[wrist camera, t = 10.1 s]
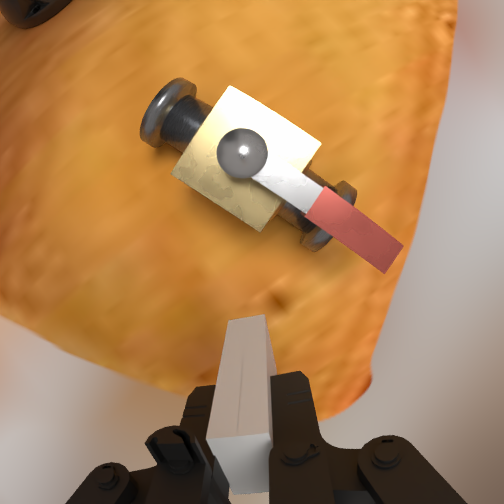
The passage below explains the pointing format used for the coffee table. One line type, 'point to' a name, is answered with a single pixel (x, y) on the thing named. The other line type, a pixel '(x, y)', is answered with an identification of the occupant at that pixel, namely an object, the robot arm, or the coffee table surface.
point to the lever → (306, 196)
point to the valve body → (205, 159)
